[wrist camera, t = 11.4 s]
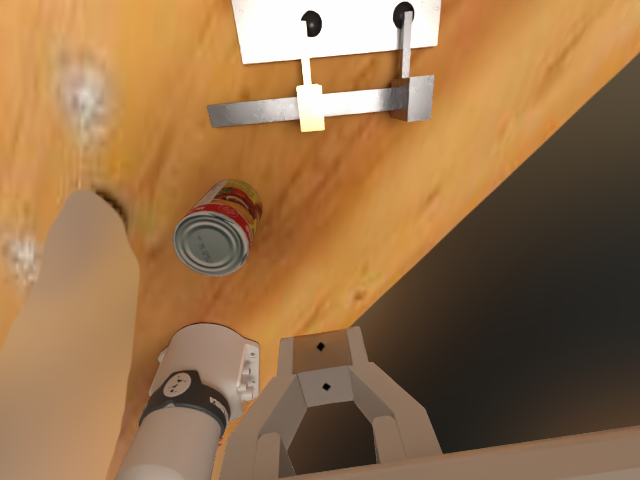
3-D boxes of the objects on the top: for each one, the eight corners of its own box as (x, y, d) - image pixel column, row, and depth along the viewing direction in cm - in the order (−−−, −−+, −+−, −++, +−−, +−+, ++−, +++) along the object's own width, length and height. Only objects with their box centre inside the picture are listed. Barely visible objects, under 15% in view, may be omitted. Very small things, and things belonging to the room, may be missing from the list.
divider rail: (419, 113, 36) (447, 117, 29) (217, 132, 36) (196, 142, 29) (426, 15, 31) (462, -7, 24) (194, 37, 31) (163, 21, 24)
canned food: (243, 240, 43) (224, 288, 32) (196, 210, 40) (158, 252, 30) (273, 202, 40) (263, 240, 30) (225, 167, 38) (195, 196, 27)
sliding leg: (320, 125, 36) (324, 132, 29) (301, 127, 36) (301, 135, 29) (312, 25, 31) (315, 7, 24) (291, 27, 31) (287, 9, 24)
